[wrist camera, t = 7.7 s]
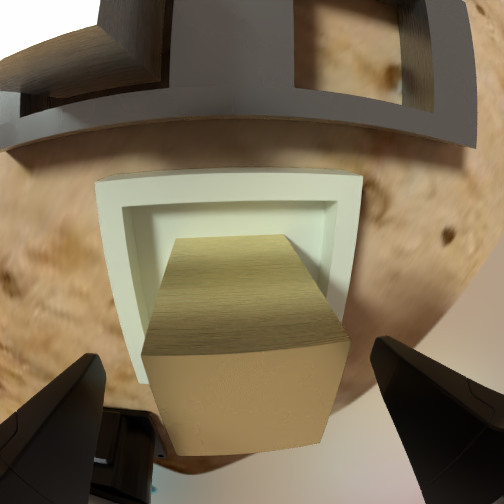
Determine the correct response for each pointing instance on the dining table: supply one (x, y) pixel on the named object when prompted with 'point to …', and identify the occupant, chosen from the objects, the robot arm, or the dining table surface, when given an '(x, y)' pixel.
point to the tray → (222, 227)
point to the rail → (275, 78)
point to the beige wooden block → (242, 347)
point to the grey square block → (79, 45)
